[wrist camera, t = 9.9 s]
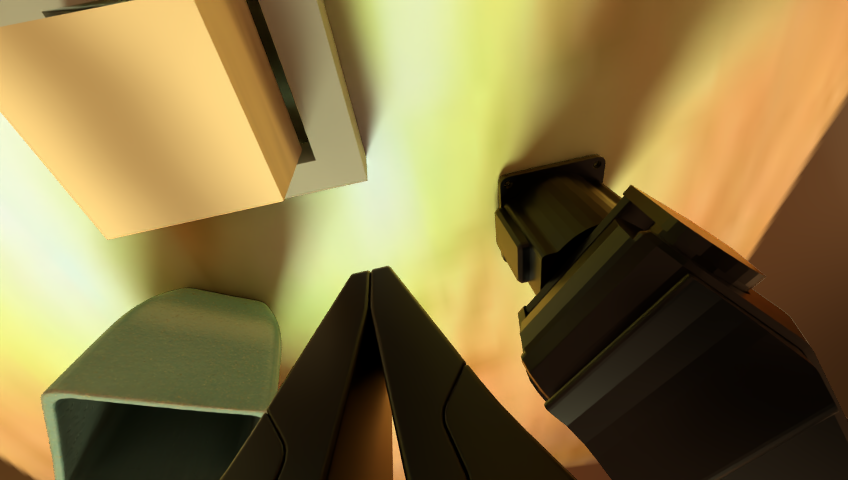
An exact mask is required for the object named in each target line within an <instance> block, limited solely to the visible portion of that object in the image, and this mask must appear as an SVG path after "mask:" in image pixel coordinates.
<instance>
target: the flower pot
mask: <svg viewBox="0 0 848 480" xmlns="http://www.w3.org/2000/svg"><path fill="white" fill-rule="evenodd" d="M280 360H281V333H280V329H279V325H278V322H277V320H276V318H275V316H274V314H273V313H272V311H271V310H270V308H269V307H268V306H267V305H266V304H265V303H263V302H260V301H255V300H250V299H245V298H239V297H234V296H229V295H224V294H219V293H214V292H209V291H204V290H199V289H193V288H182V289H178V290H173V291H170V292H166V293H163V294H160V295H157V296H155V297H153V298H150V299H148V300H146V301H144V302H143V303H141V304H139V305H137V306H136V307H134V308H133V309H131V310H130V311H128V312H127V313H126V314H124V315H123V316H122V317H121V318H119V319H118V320H117V321H116V322H115V323H114V324H113V325H112V326H110V327H109V328H108V329H107V330H106V331H105V332H104V333H103V334H102V335H101V336H100V337H99V338H98V339H97V340H96V341H95V342H94V343H93V344H92V345H91V346H90V347H89V348H88V349H87V350H86V351H85V352H84V353H83V354H82V355H81V356H80V357H79V358H78V359H77V360H76V361H75V362H74V363H73V364H72V365H71V366H70V367H69V368H68V369H67V370H66V371H65V372H64V373H63V374H62V375H61V376H60V377H59V378H58V379H57V380H56V381H55V382H54V383H53V384H52V385H51V386H50V387H49V388H48V389H47V390H46V391H45V392H44V393H43V394H42V395H41V402H42V409H43V412H44V419H45V423H46V428H47V432H48V437H49V444H50V449H51V453H52V458H53V468H54V474H55V480H220V478H221V477H222V476H223V474H224V473H225V472H226V470H227V469H228V467H229V466H230V464H231V463H232V461H233V460H234V458H235V457H236V455H237V454H238V452H239V451H240V449H241V448H242V446H243V445H244V443H245V442H246V440H247V439H248V437H249V436H250V434H251V433H252V431H253V429H254V428H255V426H256V425H257V423H258V421H259V420H260V418H261V417H262V415H263V414H264V413H267V411H266V410H267V407H268V406H269V404H270V403H271V401H272V400H273V398H274V396H275V395H276V393H277V392H278V383H279V371H280ZM267 414H268V413H267Z"/></svg>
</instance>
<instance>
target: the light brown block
mask: <svg viewBox="0 0 848 480" xmlns="http://www.w3.org/2000/svg"><path fill="white" fill-rule="evenodd" d="M0 112H1V113H2V114H3V116H4V117H5V118H6V119H7V120H8V121H9V123H10V124H11V125H12V126H13V127H14V129H15V130H16V131H17V132H18V133H19V135H20V136H21V137H22V138H23V139H24V141H25V142H26V143H27V144H28V145H29V147H30V148H31V149H32V150H33V151H34V153H35V154H36V155H37V156H38V157H39V159H40V160H41V161H42V162H43V163H44V165H45V166H46V167H47V168H48V169H49V171H50V172H51V173H52V174H53V175H54V177H55V178H56V179H57V180H58V181H59V183H60V184H61V185H62V186H63V187H64V189H65V190H66V191H67V192H68V193H69V195H70V196H71V197H72V198H73V199H74V201H75V202H76V203H77V204H78V205H79V207H80V208H81V209H82V210H83V211H84V213H85V214H86V215H87V216H88V217H89V219H90V220H91V221H92V222H93V223H94V225H95V226H96V227H97V228H98V229H99V231H100V232H101V233H102V234H103V235H104V237H105V238H106V239H107V240H109V239H113V238H118V237H122V236H127V235H131V234H136V233H141V232H145V231H150V230H154V229H159V228H163V227H168V226H173V225H177V224H182V223H186V222H191V221H195V220H200V219H204V218H209V217H214V216H218V215H223V214H227V213H232V212H236V211H241V210H245V209H250V208H255V207H259V206H264V205H268V204H273V203H277V202H282V201H284V199H285V196H286V193H287V191H288V188H289V185H290V182H291V179H292V177H293V174H294V171H295V168H296V165H297V163H298V160H299V157H300V154H301V151H302V148H301V145H300V143H299V140H298V137H297V135H296V132H295V129H294V127H293V124H292V121H291V119H290V116H289V113H288V111H287V108H286V106H285V103H284V100H283V98H282V95H281V92H280V90H279V87H278V84H277V82H276V79H275V76H274V74H273V71H272V68H271V66H270V63H269V60H268V58H267V55H266V53H265V50H264V47H263V45H262V42H261V39H260V37H259V34H258V31H257V29H256V26H255V23H254V21H253V18H252V15H251V13H250V10H249V8H248V5H247V2H246V0H133V1H128V2H123V3H118V4H113V5H108V6H103V7H98V8H93V9H88V10H83V11H78V12H72V13H67V14H62V15H57V16H52V17H47V18H42V19H37V20H32V21H27V22H22V23H17V24H12V25H7V26H2V27H0Z"/></svg>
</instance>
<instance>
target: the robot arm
mask: <svg viewBox="0 0 848 480" xmlns="http://www.w3.org/2000/svg"><path fill="white" fill-rule="evenodd" d="M596 161H598V162H597V164H596V165H595V166H593V165H594V163H595V162H596ZM604 169H605V159H604V158H603V157H601V156H600V155H591V156H586V157H582V158H577V159H573V160H568V161H564V162H559V163H555V164H550V165H545V166H541V167H536V168H532V169H527V170H523V171H518V172H514V173H509V174H505V175H503V176H502V177H500V179H499V181H498V194H499V208H498V209H497V210H496V212H495V224H496V242H497V245H498V247H499V248H500V250H501V255H502V257H503V259H504V261H506V262H507V263H508V264H509V266H510V268H511V270H512V272H513V273H514V275H515V277H516V279H517V280H518V281H519V282H521V283H524V282H528V283H529V284H530V286H531V288H532V289H533V291H534V293H535V294H536V296H535V297H534V298H533V299H532V301H531V302H530V303H529V304H528V305H527V306H524V307H523V308H522V309H521V310H520V311H519V312H518V318H519V325H520V336H521V341H522V348H523V354H522V355H521V358H522V363H523V365H524V367H525V368H526V372H527V374H528V377H529V379H530V381H531V383H532V384H533V386H534V387H535V389H536V390H537V392H538V393H539V394H540V395H541V397H542V398H543V399H544V400H545V401H546V402H545V403H544V406H545V408H546V409H547V410H548V411H549V412H550V413H551V414H552V415H554V416H555V417H556V418H557V419H559V420H560V421H561V422H562V423H564V424H565V425H566V426H567V427H568V428H569V429H570V430H571V431H572V432H573V433H574V434H575V435H576V436H577V437H578V438H579V439H580V440H581V441H582V442H583V443H584V444H585V446H586V447H587V448H588V449H589V451H590V452H591V453H592V454H593V456H594V457H595V458H596V459H597V461H598V462H599V463H600V465H601V466H602V467H603V469H604V470H605V471H606V473H607V474H608V475H609V477H610V478H611V479H612V480H848V419H847V418H846V417H845V415H844V413H843V411H842V409H841V407H840V405H839V402H838V400H837V398H836V396H835V395H834V392H833V390H832V388H831V386H830V384H829V382H828V380H827V378H826V375H825V373H824V371H823V369H822V367H821V365H820V364H819V361H818V359H817V357H816V355H815V353H814V351H813V350H812V348H811V347H810V345H809V344H808V342H807V341H806V339H805V338H804V336H803V335H802V333H801V332H800V330H799V329H798V327H797V326H796V324H795V323H794V321H793V320H792V319H791V317H790V316H789V315H788V314H787V313H785V312H784V311H783V310H781V309H780V308H779V307H777V306H776V305H774V304H773V303H772V302H770V301H769V300H767V299H766V298H764V297H763V296H762V295H760V294H759V293H757V292H756V291H755V290H753V289H752V288H753V287H754V286H756V285H757V284H758V283H759V282H761V281H762V280H763V279H764V278H766V276H765V275H764V274H763V273H762V272H760V271H759V270H758V269H757V268H755V267H754V266H753V265H752V264H750V263H749V262H748V261H747V260H746V259H744V258H743V257H742V256H741V255H740V254H738V253H737V252H736V251H735V250H733V249H732V248H731V247H729V246H728V245H726V244H725V243H723V242H722V241H720V240H719V239H717V238H716V237H714V236H713V235H711V234H710V233H708V232H707V231H705V230H704V229H702V228H701V227H699V226H698V225H696V224H695V223H693V222H692V221H690V220H688V219H687V218H685V217H684V216H682V215H680V214H679V213H677V212H675V211H674V210H672V209H670V208H669V207H667V206H665V205H664V204H662V203H660V202H659V201H657V200H655V199H654V198H652V197H650V196H649V195H647V194H646V193H644V192H642V191H641V190H639V189H637V188H636V187H634V186H632V185H630V186H629V187H628V189H627V190H626V191H625V192H624V193H623V195H624V197H623V198H621V197H620V196H618V195H617V194H616V193H614V192H613V191H612V190H611V189H609V188H608V187H607V186H605V185H604V184H603V176H604ZM507 181H510V183H509V184H508V185H506V186H504V184H505V182H507ZM266 411H267V413H268V414H267V413H264V414H263V415H262V417H261V418H260V420H259V421H258V423H257V425H256V426H255V428H254V429H253V431H252V433H251V434H250V436H249V437H248V439H247V440H246V442H245V443H244V445H243V446H242V448H241V449H240V451H239V452H238V454H237V455H236V457H235V458H234V460H233V461H232V463H231V464H230V466H229V467H228V469H227V470H226V472H225V473H224V474H223V476H222V477H221V478H220V480H393V453H392V417H393V421H394V426H395V431H396V436H397V440H398V445H399V450H400V454H401V459H402V464H403V469H404V473H405V478H406V480H577V479H576V478H575V477H574V476H573V475H572V474H571V473H570V472H568V471H567V470H566V469H565V468H564V467H563V466H562V465H561V464H560V463H559V462H558V461H557V460H556V459H555V458H554V457H553V456H552V455H551V454H550V453H549V452H548V451H547V450H546V449H545V448H544V447H543V446H542V445H541V444H540V443H539V442H538V441H537V440H536V439H535V438H534V437H533V436H532V435H530V434H529V433H528V432H527V431H526V430H525V429H524V428H523V427H522V426H521V425H520V424H519V423H518V421H517V420H516V419H515V418H514V417H513V416H512V415H511V414H510V413H509V412H508V411H507V410H506V409H505V408H504V407H503V406H502V405H501V404H500V403H499V402H498V401H497V399H496V398H495V397H494V396H493V395H492V393H491V392H490V391H489V390H488V389H487V388H486V386H485V385H484V384H483V383H482V382H481V381H480V379H479V378H478V377H477V376H476V374H475V373H474V372H473V370H472V369H471V368H470V367H469V366H468V365H466V362H465V361H464V359H463V358H462V357H461V356H460V354H459V353H458V352H457V351H456V349H455V348H454V347H453V346H452V344H451V343H450V342H449V340H448V339H447V338H446V337H445V335H444V334H443V333H442V332H441V330H440V329H439V328H438V327H437V325H436V324H435V323H434V322H433V320H432V319H431V318H430V316H429V315H428V314H427V313H426V311H425V310H424V309H423V308H422V306H421V305H420V304H419V303H418V301H417V300H416V299H415V297H414V296H413V295H412V294H411V292H410V291H409V290H408V289H407V287H406V286H405V285H404V284H403V282H402V281H401V280H400V278H399V277H398V276H397V275H396V273H395V272H394V271H393V270H392V268H391V267H389V266H385V267H381V268H376V269H373V270H372V271H371V272H370V271H363V272H359V273H354V274H352V275H351V276H350V278H349V279H348V281H347V282H346V284H345V285H344V287H343V289H342V290H341V292H340V293H339V295H338V297H337V298H336V300H335V301H334V303H333V304H332V306H331V308H330V309H329V311H328V312H327V314H326V316H325V317H324V319H323V320H322V322H321V324H320V325H319V327H318V328H317V330H316V331H315V333H314V335H313V336H312V338H311V339H310V341H309V343H308V344H307V346H306V347H305V349H304V350H303V352H302V354H301V355H300V357H299V358H298V360H297V362H296V363H295V365H294V366H293V368H292V369H291V371H290V373H289V374H288V376H287V377H286V379H285V381H284V382H283V384H282V385H281V387H280V388H279V390H278V392H277V393H276V395H275V396H274V398H273V400H272V401H271V403H270V404H269V406H268V407H267V410H266Z"/></svg>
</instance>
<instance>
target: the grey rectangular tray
mask: <svg viewBox="0 0 848 480" xmlns="http://www.w3.org/2000/svg"><path fill="white" fill-rule="evenodd" d="M128 1H133V0H0V27H2V26H7V25H12V24H17V23H22V22H27V21H32V20H37V19H42V18H47V17H52V16H57V15H62V14H67V13H72V12H78V11H83V10H88V9H93V8H98V7H103V6H108V5H113V4H118V3H123V2H128ZM258 1H259V4H260V7H261V10H262V12H263V15H264V18H265V21H266V23H267V26H268V29H269V32H270V35H271V37H272V40H273V43H274V46H275V48H276V51H277V54H278V57H279V60H280V62H281V65H282V68H283V71H284V73H285V76H286V79H287V82H288V84H289V87H290V90H291V93H292V96H293V98H294V101H295V104H296V107H297V109H298V112H299V115H300V118H301V120H302V123H303V126H304V129H305V132H306V134H307V137H308V140H309V142H305V143H300V145H301V148H302V151H301V154H300V157H299V160H298V163H297V165H296V168H295V171H294V174H293V177H292V179H291V182H290V185H289V188H288V191H287V193H286V196H285V199H286V198H290V197H295V196H300V195H304V194H309V193H313V192H318V191H322V190H327V189H332V188H336V187H341V186H345V185H350V184H354V183H359V182H363V181H367V164H366V155H365V152H364V148H363V144H362V141H361V137H360V133H359V130H358V126H357V122H356V119H355V115H354V111H353V108H352V104H351V100H350V97H349V93H348V89H347V86H346V82H345V78H344V75H343V71H342V67H341V64H340V60H339V56H338V53H337V49H336V45H335V42H334V38H333V34H332V31H331V27H330V23H329V20H328V16H327V12H326V9H325V5H324V1H323V0H258Z"/></svg>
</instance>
